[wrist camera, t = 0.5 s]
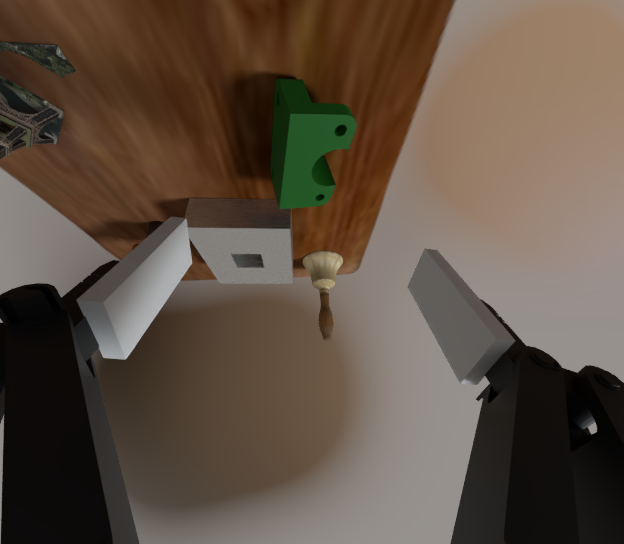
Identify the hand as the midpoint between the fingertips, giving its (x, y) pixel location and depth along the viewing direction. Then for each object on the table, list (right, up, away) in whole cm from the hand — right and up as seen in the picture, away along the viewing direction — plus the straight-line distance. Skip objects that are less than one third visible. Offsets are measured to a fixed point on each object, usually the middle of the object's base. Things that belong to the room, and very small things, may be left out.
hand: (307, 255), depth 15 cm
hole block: (-10, +5, +29) cm, 32 cm away
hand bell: (+2, +1, +38) cm, 38 cm away
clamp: (0, +14, +13) cm, 19 cm away
